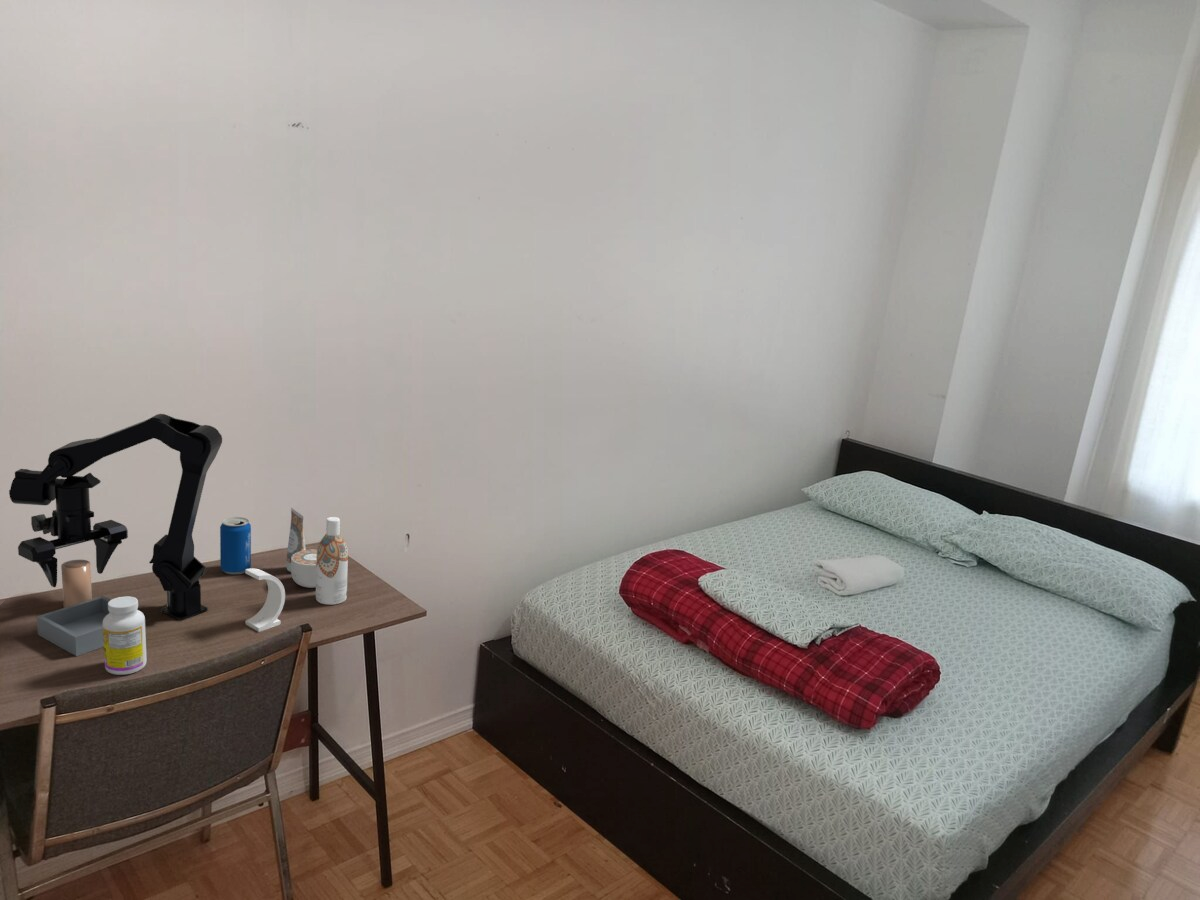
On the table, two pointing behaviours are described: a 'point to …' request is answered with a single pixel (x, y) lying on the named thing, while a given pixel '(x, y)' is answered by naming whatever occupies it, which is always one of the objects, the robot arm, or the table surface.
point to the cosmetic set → (319, 561)
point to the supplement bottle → (124, 637)
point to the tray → (76, 626)
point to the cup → (76, 582)
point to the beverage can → (235, 545)
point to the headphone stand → (267, 602)
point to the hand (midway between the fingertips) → (77, 579)
